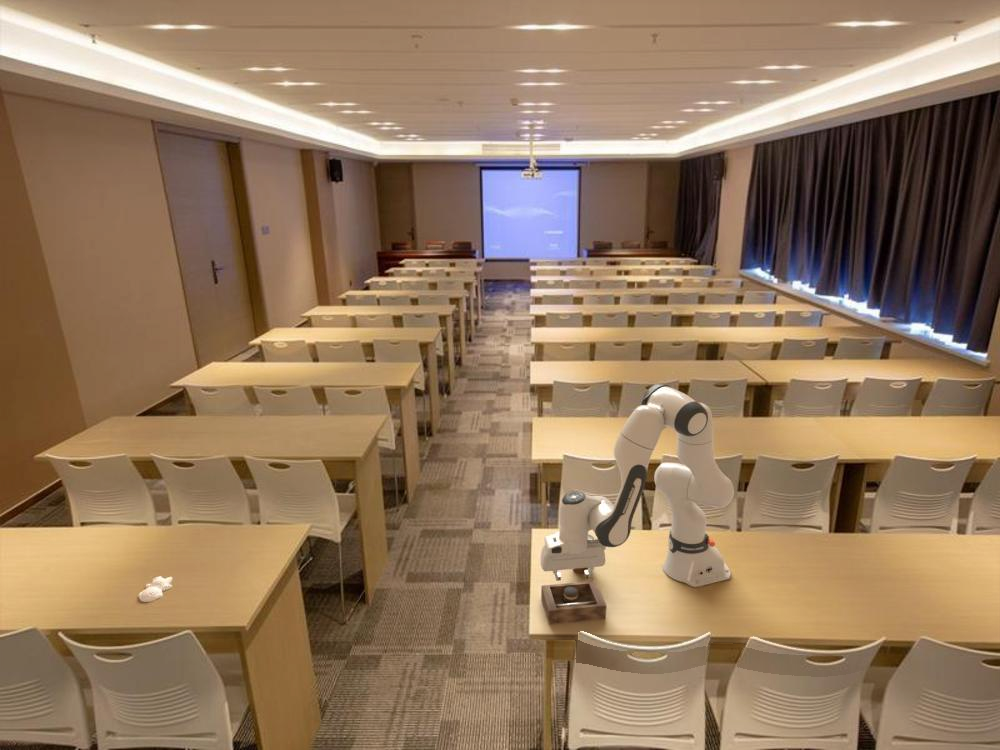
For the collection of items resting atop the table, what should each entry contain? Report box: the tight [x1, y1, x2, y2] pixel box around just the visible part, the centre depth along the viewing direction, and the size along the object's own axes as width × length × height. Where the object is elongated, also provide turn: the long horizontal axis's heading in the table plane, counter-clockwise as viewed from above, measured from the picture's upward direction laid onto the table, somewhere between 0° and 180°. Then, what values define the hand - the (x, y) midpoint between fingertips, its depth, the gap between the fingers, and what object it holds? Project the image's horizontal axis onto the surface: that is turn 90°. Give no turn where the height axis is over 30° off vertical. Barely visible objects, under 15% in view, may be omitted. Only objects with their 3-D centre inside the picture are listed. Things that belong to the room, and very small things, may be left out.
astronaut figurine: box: [137, 575, 173, 603], centre depth 202 cm, size 9×12×3 cm
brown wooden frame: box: [540, 580, 607, 625], centre depth 192 cm, size 18×12×5 cm, turn 97°
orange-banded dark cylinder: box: [563, 587, 579, 604], centre depth 194 cm, size 4×4×5 cm
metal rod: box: [555, 600, 596, 608], centre depth 189 cm, size 15×1×1 cm, turn 97°
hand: (572, 578), depth 192 cm, fingers open, 8 cm apart
